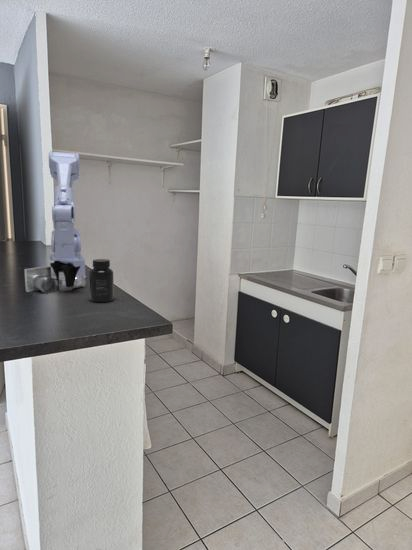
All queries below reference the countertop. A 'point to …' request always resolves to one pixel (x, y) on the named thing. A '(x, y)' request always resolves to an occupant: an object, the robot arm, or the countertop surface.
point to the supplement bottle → (101, 281)
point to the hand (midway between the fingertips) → (65, 285)
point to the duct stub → (39, 279)
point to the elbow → (77, 283)
